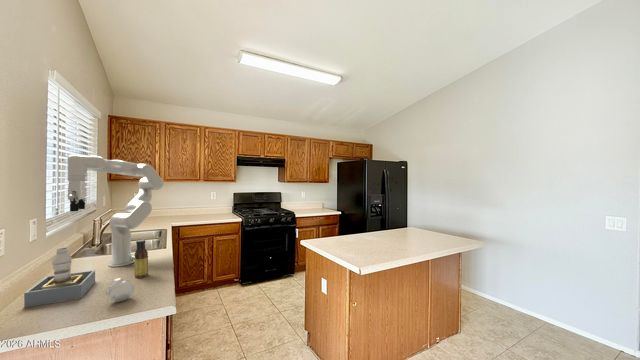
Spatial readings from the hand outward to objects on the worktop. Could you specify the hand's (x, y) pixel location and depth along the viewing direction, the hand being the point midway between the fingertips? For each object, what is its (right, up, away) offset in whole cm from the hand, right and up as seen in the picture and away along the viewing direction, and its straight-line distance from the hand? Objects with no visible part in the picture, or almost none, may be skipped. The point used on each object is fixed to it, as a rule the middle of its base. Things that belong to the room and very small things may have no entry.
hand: (77, 210), depth 138 cm
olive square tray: (+11, -37, -19) cm, 42 cm away
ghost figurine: (+43, -37, -26) cm, 62 cm away
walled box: (+11, -37, -19) cm, 42 cm away
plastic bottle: (+11, -36, -19) cm, 42 cm away
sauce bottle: (+33, -37, +2) cm, 49 cm away
